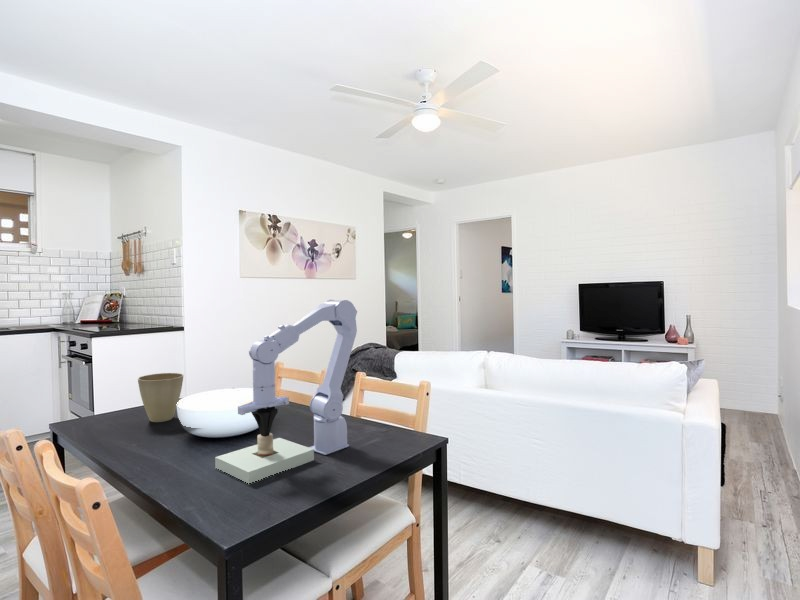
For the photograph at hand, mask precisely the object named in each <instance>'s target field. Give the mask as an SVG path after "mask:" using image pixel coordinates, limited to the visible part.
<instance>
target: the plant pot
mask: <svg viewBox="0 0 800 600" xmlns="http://www.w3.org/2000/svg"><path fill="white" fill-rule="evenodd" d="M183 382H184V374H183V373H178V372H161V373H152V374H145V375H142V376H139V377H137V383H138V389H139V393H140V397H141V401H142V404H143V407H144V410H145V412H146V415H147V417H148V420H149V421H150V422H151V423H163V422H168V421H171V420H173V418H174V416H175V413H176V410H177V408H176V404H177V402H178V403H179V401H180V397H181V392H182V390H183V389H182V387H183ZM177 405H178V404H177Z"/></svg>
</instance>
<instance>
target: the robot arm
mask: <svg viewBox="0 0 800 600" xmlns="http://www.w3.org/2000/svg"><path fill="white" fill-rule="evenodd" d="M357 315H358V310H357V309H356V306H355V305H354V303H353V302H351V301H350V300H348V299H344V300H342V299H338V300H335V299H329V300H327V301H325V302H323V303H320V304H319V305H317V307H316V308H314V309H313V310H311V311H310V312H309V313H308V314H305V316H304V317H302V318H300V319H299V320H298V321H296V322H294V324H289V323H287V324H285V325H284V324H280V325H279V326H277V328H278V329H277V330H275V331H274V332H272V333H271V334H269V335H264V336H263V340H262V339H261V340H257V341H255V342H253V344H252V345H251V346H250V350H249V351H248V355H249V357H250V359H251V360H252V399H253V400H252V401H251V402H249V403H246V404H242V405H239V406H237V414H238V415H241V416H244V415H246V414H250V413H251V414H252V416H253V418H254V420H255V421H256V423H257V426H258V429H259V433H260V434H261V436H264V437H266V436H269V434H270V433H271V429H272V426H273V422H274V420H275V418H276V416H277V414H278V411H279V410H278V407H279V406H283V405H285V406H286V405H289V404H290V397H289V396H280V397H279V396H278V397H276V369H275V368H276V366H275V363H276V360H277V359H278V357H279V355H280V354H281V353H283V352H284V351H285V350H287V349H289V348H290V347H291V346H293V345H295V344H296V343H297V342H299V340H300V336H301V335H302V334H303V333H306V332H307V331H309V330H310V329H311V328H313V327H315V326H316V325H318V324H320V323H321V322H324V321H325V322H326V321H327V322H329V323H330V324H331V325H332V327H333V328H334V330H335V331H336V333H337V335H336V339H335V342H334V344H333V348H332V351H331V355H330V358H329V362H328V365H327V367H326V372H325V375H324V378H323V382H322V384H321V385H319V387H318V388H317V389H316V390H315V391H316V392H315V394H314V395H313V396H312V398H311V399H310V402H309V409H310V411H311V413H313V440H314V441H313V445H311V446H308V447H309V448H311V449H314V453H317V454H320V455H324V456H327V455H329V454H332V453H335V452H338V451H340V450H343V449H345V448H348V447H350V444H348V425H347V421H346V419H345V417H344V416H342V413H343V409H344V406H343V399H344V395H343V392H342V388H341V387H342V385H343V381H344V377H345V374H346V372H347V371H346V370H347V367H348V363H349V360H350V357H351V353H352V350H353V346H354V344H355V340H356V336H357V333H358V326H357V320H356V319H357ZM276 407H277V408H276Z"/></svg>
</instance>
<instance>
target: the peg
mask: <svg viewBox="0 0 800 600" xmlns="http://www.w3.org/2000/svg"><path fill="white" fill-rule="evenodd" d="M256 437H257V438H256V439H257V441H256V442H257V444H258V457H261V458H264V457H268V456H271V455H273V439H274V433H272V432H270V434H269V436H266V437H264V436H261V434H257V436H256Z"/></svg>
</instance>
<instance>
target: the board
mask: <svg viewBox="0 0 800 600" xmlns="http://www.w3.org/2000/svg"><path fill="white" fill-rule="evenodd" d="M309 447H310V446H305V445H302V444H299V443H297V442H293V441H290V440H288V439H284V438H282V437H276V438H273V455H271V456H268V457H264V458H261V457H258V443H257V444H254V445H251V446H246V447H244V448H241V449H237V450H234V451H231V452H228V453H225V454H221V455H218V456H215V457H214V460H215V461H214V463H215V465H214V467H215V469H216V468H217V469H216V470H218V469H219V470H218V471H220V470H222V471H223V472H222V471H221V472H222V473H224V472H226V473H228V474H230V475H232V476H234V477H236V478H238V479H240V480H242V481H244V482H243V483H245V482H246V483H245V484H247V483H248V484H247V485H250V484H249V483H251V484H253V483H252V482H254V483H256V482H255V481H257V482H259V481H262V480H264V479H263V478H265V477H267V478H269V477H268V476H270V475H273V476H275V475H274V474H276V473H278V474H280V473H279V472H281V473H283V472H282V471H284V472H285V470H286V471H288V469H289V470H291V468H292V469H294V468H297V467H300V466H302V465H304V464H308V463H310V462H313V461H315V451H314V449H311V448H309ZM226 473H225V474H226ZM228 474H227V475H228ZM230 475H229V476H230ZM276 475H277V474H276ZM232 476H231V477H232ZM234 477H233V478H234ZM270 477H271V476H270ZM236 478H235V479H236ZM238 479H237V480H238ZM261 479H262V480H261ZM265 479H266V478H265ZM240 480H239V481H240ZM258 480H259V481H258ZM242 481H241V482H242Z"/></svg>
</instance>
